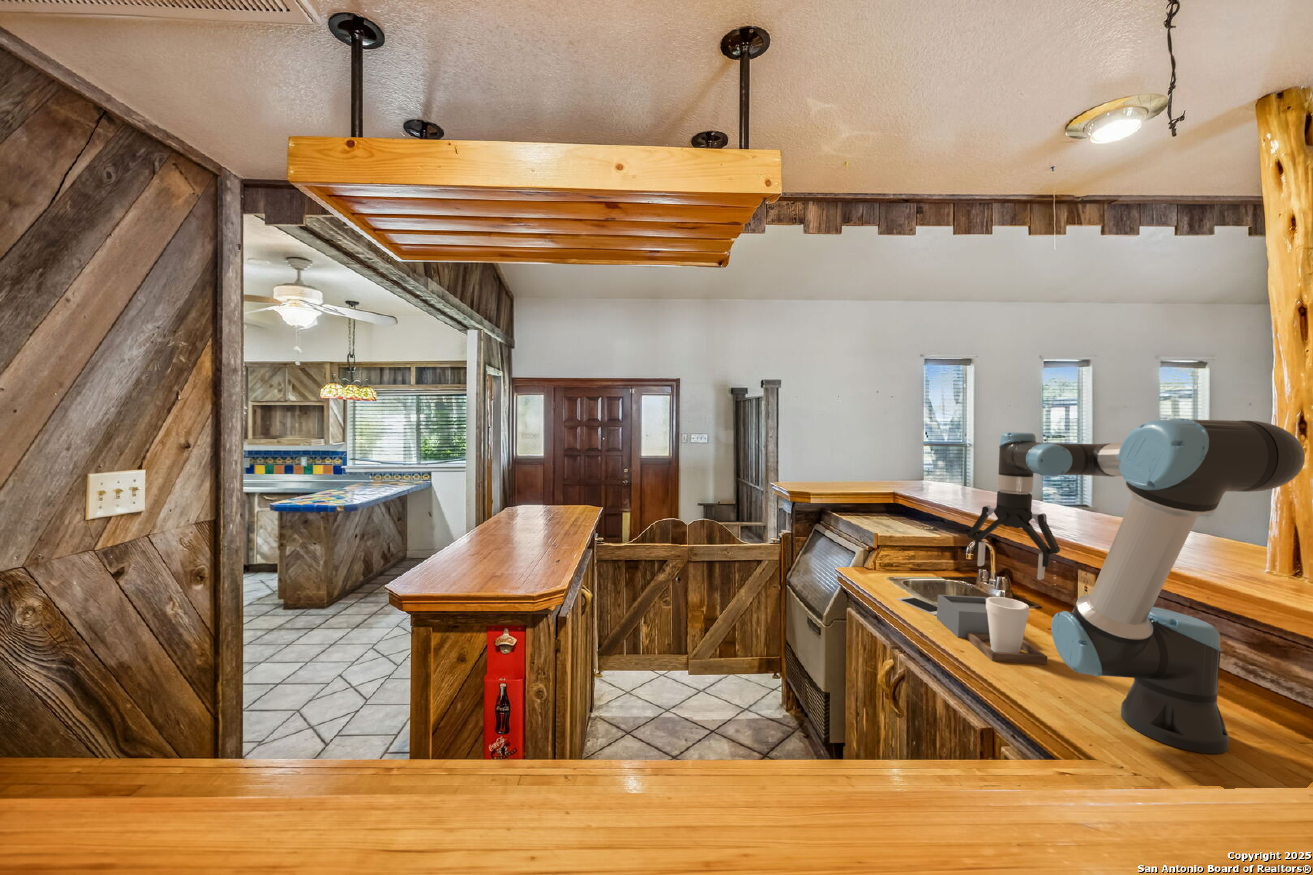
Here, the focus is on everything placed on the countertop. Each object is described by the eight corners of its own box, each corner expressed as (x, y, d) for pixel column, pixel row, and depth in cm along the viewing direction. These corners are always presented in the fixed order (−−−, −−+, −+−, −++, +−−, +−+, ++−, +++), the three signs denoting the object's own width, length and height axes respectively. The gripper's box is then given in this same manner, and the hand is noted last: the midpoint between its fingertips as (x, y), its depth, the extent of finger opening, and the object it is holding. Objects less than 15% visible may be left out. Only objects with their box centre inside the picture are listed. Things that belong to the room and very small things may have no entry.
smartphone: (934, 617, 163) (934, 614, 163) (895, 600, 177) (895, 597, 177) (951, 614, 165) (951, 611, 165) (911, 598, 180) (911, 595, 180)
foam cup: (976, 643, 143) (978, 596, 142) (1011, 644, 143) (1013, 597, 142) (998, 658, 133) (1000, 608, 133) (1035, 660, 133) (1037, 610, 133)
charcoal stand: (1011, 640, 145) (1012, 614, 145) (958, 637, 146) (959, 611, 146) (985, 621, 159) (986, 597, 158) (936, 618, 160) (937, 594, 160)
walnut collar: (1047, 664, 131) (1047, 656, 131) (992, 660, 132) (992, 652, 132) (1017, 642, 144) (1017, 635, 144) (967, 639, 145) (967, 632, 145)
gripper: (1078, 497, 128) (1072, 581, 129) (968, 484, 147) (963, 557, 149) (1070, 500, 123) (1064, 588, 125) (956, 486, 143) (952, 562, 144)
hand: (1009, 571), depth 137 cm, fingers open, 13 cm apart
